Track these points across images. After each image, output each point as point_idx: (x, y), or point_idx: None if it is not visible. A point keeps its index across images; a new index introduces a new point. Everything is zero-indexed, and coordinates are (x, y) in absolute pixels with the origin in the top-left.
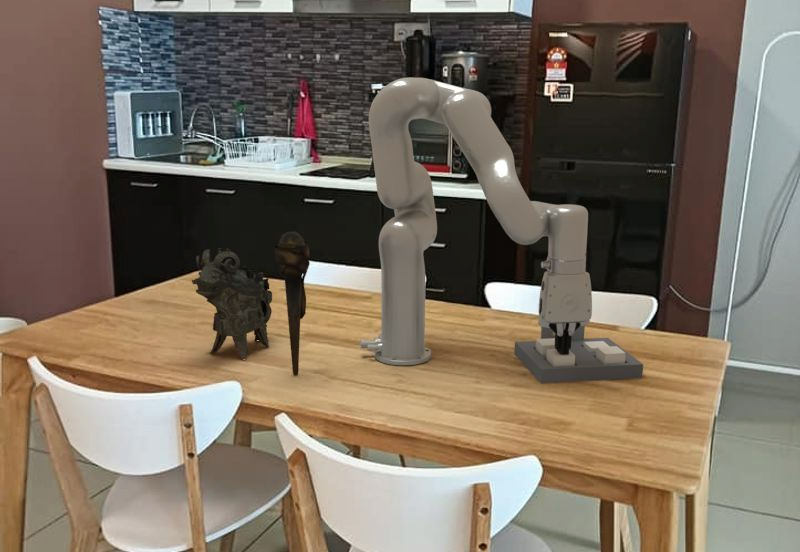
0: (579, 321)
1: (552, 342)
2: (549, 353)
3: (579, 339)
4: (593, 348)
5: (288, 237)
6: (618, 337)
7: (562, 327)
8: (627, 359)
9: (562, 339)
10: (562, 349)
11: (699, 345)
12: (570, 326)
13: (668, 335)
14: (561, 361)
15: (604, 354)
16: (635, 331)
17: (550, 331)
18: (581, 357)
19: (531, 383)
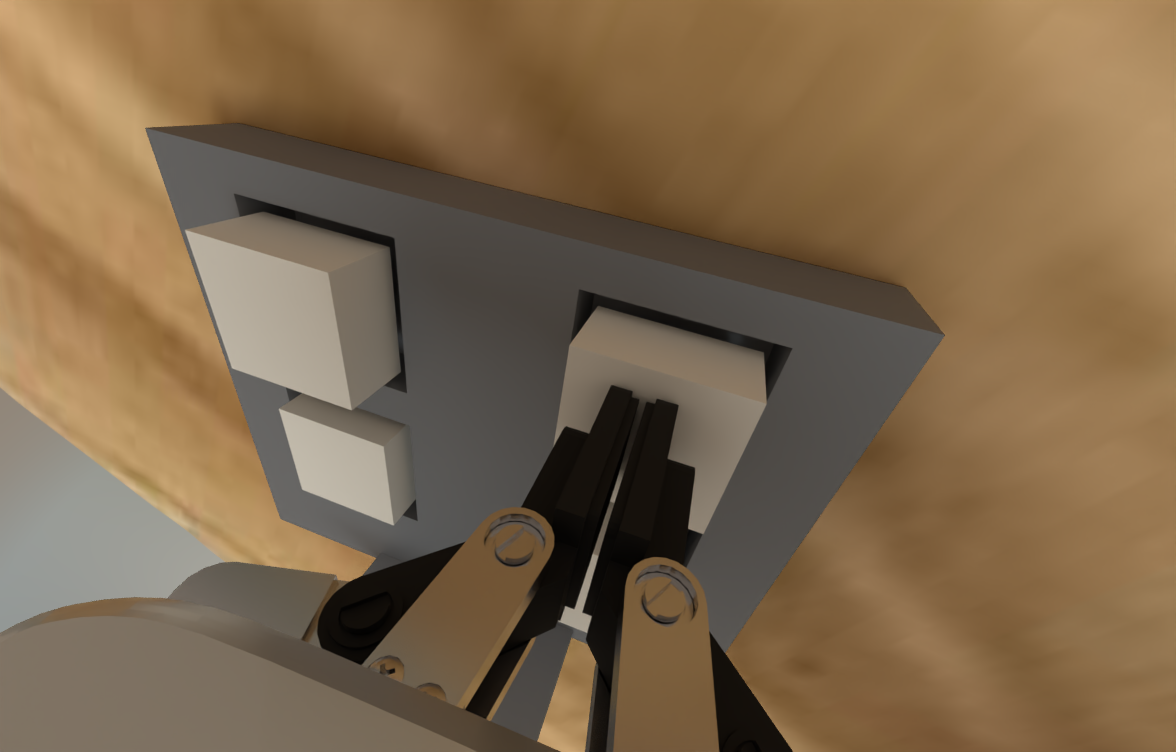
0: (284, 656)
1: (582, 585)
2: (723, 484)
3: (398, 561)
4: (374, 442)
5: None
6: (265, 532)
7: (619, 675)
8: None
9: (656, 510)
10: (668, 428)
11: (27, 367)
12: (489, 634)
13: (122, 471)
14: (697, 357)
15: (335, 281)
16: (211, 536)
17: None
18: (483, 397)
19: (970, 316)
